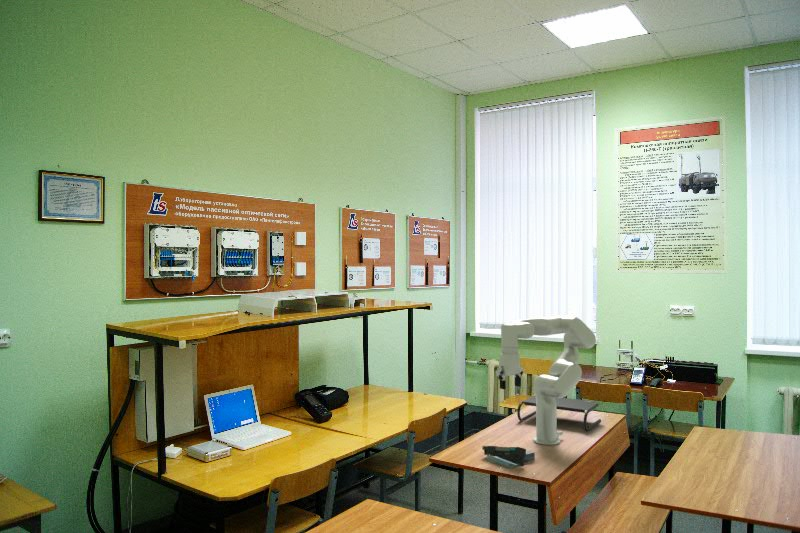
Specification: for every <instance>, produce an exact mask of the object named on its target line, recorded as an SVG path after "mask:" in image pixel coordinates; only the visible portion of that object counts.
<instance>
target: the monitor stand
mask: <svg viewBox="0 0 800 533" xmlns="http://www.w3.org/2000/svg"><path fill="white" fill-rule="evenodd" d="M555 400H556V404H557V410H561V411H568V412H576V413H581V414H584V415H583V427H584V431H586V432H589V431H590V430H592V429H593V428H595V426H597V425H598V424H599V423H601V421H602V419H601V418H598V420H596V421H595V422H593V423H592V424H591V425H589V426H588V425H587V419H588V415H589V414H590V412H592V411H593V410H595V409H596V408H598V407H599V406H600V403H598V402H596V401H593V400H585V399H577V398H568V397H564V398H561V399H559V398H555ZM523 405H525V406H532V407H536V395H533V396H530V397H528V398H526V399H524V400H522V401H521V402H520V403H518V406H517V412H516V413H517V414H516V415H517V418H518V420H519V421H520V422H523V421H525V420H528V419H529V418H531V417H532V416H534V415H536V410H534V411H533V412H531V413H529V414H528V415H525V416H524V417H521V408H522V406H523Z"/></svg>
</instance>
